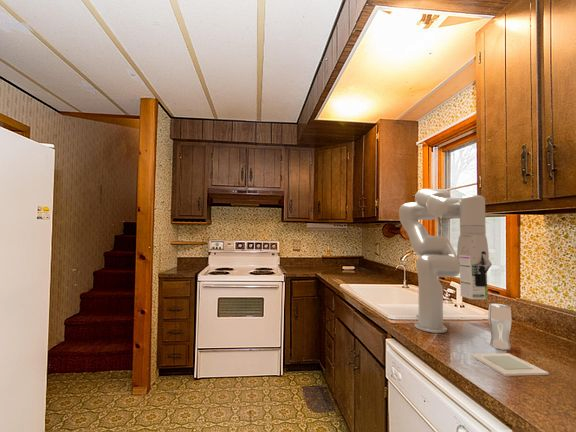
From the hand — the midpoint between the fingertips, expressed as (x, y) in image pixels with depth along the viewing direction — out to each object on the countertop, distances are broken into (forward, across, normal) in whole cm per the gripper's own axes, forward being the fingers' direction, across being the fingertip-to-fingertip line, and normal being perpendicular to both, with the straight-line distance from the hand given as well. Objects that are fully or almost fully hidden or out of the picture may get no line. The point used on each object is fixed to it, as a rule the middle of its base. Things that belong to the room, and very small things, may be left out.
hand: (473, 284), depth 101 cm
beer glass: (+24, -8, +16) cm, 30 cm away
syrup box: (+5, 0, 0) cm, 5 cm away
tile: (+24, +6, +6) cm, 26 cm away
